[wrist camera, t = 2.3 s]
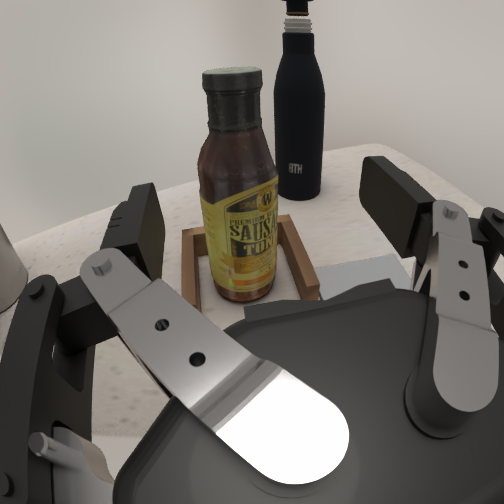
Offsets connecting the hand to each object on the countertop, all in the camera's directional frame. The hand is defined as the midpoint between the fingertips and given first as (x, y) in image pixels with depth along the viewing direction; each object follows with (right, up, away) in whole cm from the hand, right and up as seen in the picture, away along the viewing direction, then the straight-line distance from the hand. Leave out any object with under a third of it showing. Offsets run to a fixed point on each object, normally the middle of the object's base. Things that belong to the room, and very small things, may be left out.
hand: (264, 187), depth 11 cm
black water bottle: (+6, +7, +32) cm, 34 cm away
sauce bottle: (-1, -5, +20) cm, 20 cm away
